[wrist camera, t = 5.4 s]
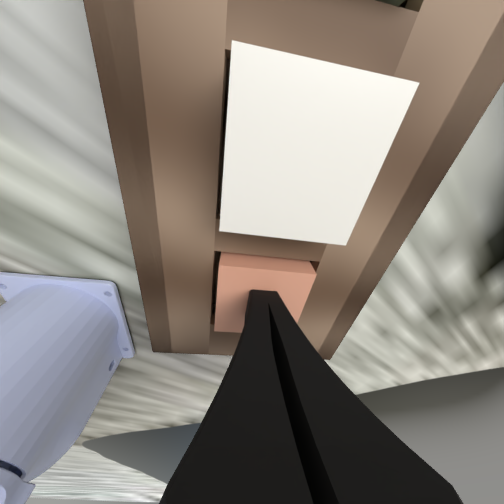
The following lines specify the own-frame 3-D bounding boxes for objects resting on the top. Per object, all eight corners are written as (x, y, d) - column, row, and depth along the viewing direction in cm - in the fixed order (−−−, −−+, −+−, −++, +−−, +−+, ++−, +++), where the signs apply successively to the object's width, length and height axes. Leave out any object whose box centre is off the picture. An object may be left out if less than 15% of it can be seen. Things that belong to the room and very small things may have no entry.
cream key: (313, 211, 10) (345, 245, 7) (226, 200, 9) (219, 230, 6) (348, 104, 7) (419, 82, 4) (236, 81, 7) (231, 39, 4)
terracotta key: (281, 292, 14) (292, 335, 11) (220, 287, 13) (214, 331, 10) (297, 239, 12) (316, 274, 9) (225, 230, 11) (219, 265, 8)
